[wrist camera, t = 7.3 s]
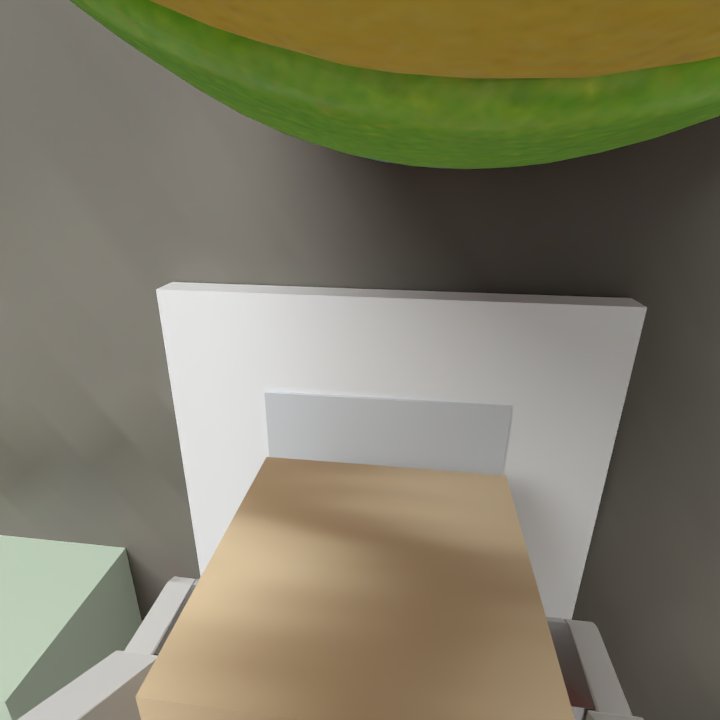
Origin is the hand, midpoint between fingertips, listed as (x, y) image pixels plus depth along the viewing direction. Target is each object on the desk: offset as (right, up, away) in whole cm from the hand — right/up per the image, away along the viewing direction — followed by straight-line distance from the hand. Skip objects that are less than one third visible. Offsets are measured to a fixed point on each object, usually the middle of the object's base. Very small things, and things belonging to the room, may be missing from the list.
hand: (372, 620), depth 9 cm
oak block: (0, +1, +1) cm, 2 cm away
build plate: (0, +2, +4) cm, 4 cm away
